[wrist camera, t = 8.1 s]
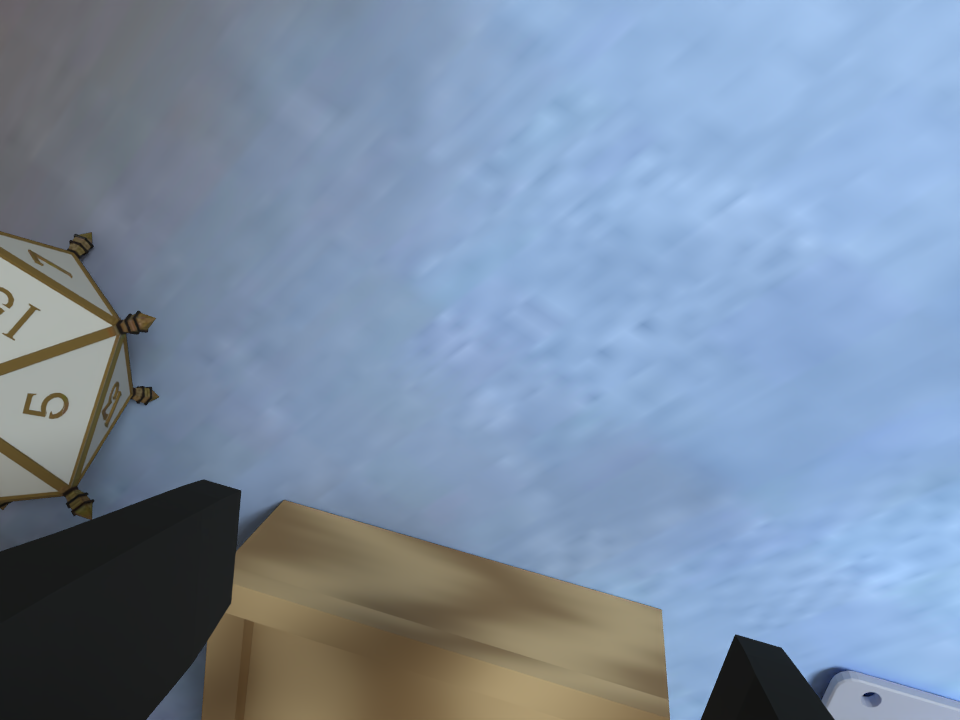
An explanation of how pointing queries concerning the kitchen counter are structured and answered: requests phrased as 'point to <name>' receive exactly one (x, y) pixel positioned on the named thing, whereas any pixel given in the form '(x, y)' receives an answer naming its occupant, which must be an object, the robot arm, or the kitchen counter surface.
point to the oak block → (419, 634)
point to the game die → (58, 370)
